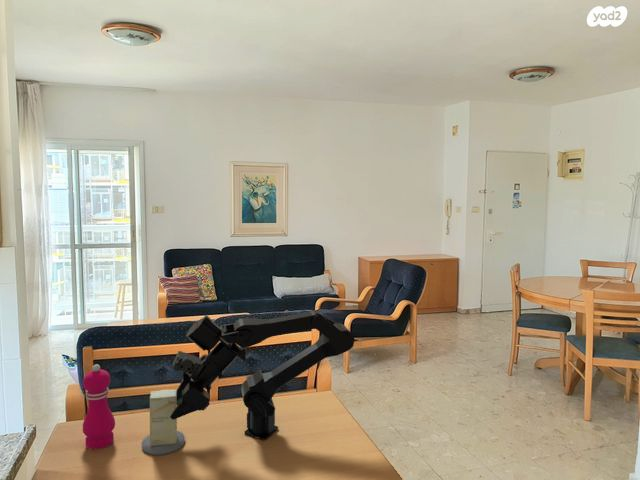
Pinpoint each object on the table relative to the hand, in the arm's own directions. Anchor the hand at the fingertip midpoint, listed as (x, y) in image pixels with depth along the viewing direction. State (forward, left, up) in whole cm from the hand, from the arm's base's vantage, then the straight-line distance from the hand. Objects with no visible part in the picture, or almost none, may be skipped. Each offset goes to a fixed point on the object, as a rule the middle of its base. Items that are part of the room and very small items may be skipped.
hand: (172, 409), depth 117 cm
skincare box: (+2, +1, -8) cm, 8 cm away
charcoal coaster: (+2, +1, -9) cm, 9 cm away
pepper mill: (+16, +8, -9) cm, 20 cm away
